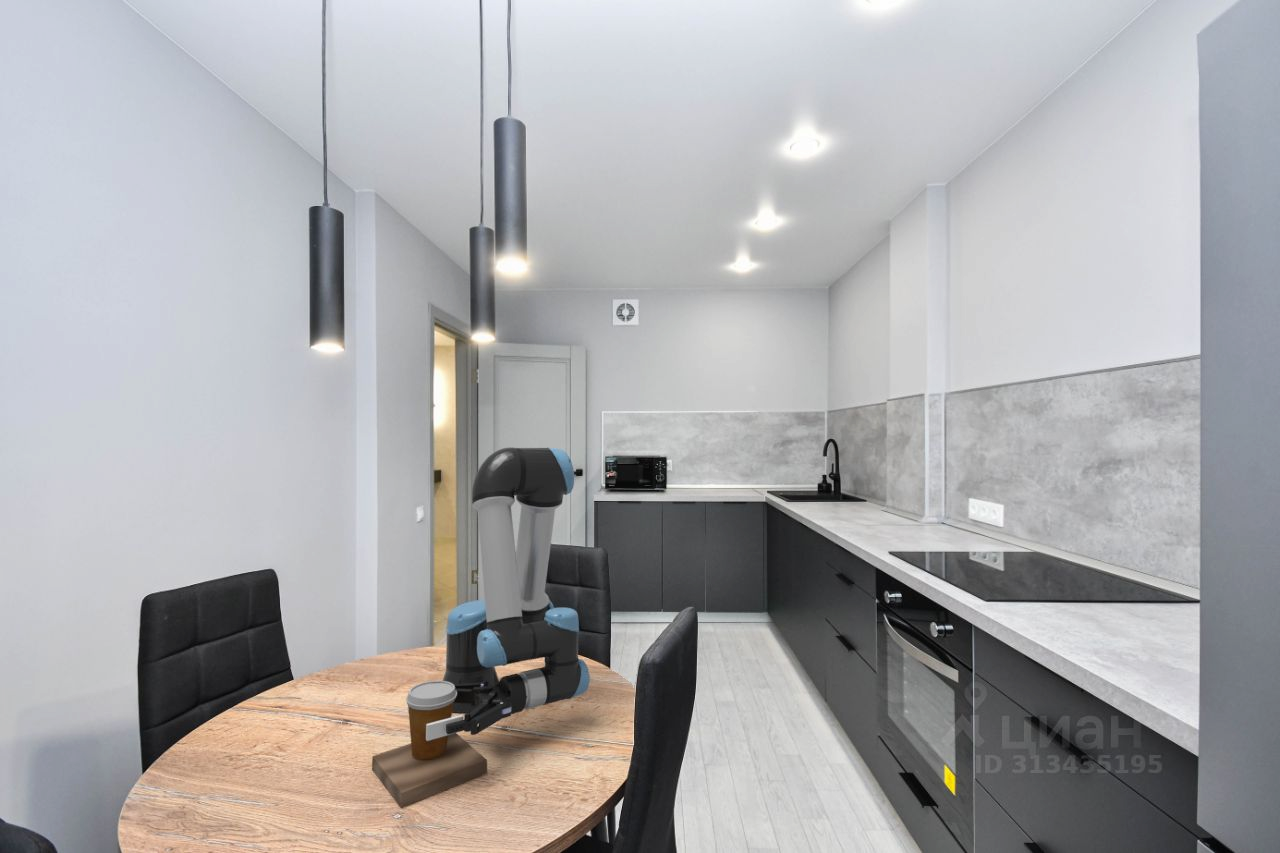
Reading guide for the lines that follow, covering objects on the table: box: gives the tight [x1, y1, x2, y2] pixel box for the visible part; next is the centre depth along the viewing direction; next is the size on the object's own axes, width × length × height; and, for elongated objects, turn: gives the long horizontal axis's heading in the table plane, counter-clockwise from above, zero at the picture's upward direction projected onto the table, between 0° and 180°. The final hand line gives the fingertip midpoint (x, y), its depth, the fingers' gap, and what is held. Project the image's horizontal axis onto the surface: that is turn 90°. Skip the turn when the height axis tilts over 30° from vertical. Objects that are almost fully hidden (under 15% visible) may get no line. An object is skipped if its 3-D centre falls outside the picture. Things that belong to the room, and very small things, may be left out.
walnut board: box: [371, 733, 488, 808], centre depth 107 cm, size 16×16×2 cm
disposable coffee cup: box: [405, 680, 457, 760], centre depth 110 cm, size 10×10×12 cm
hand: (416, 718), depth 107 cm, fingers open, 13 cm apart
